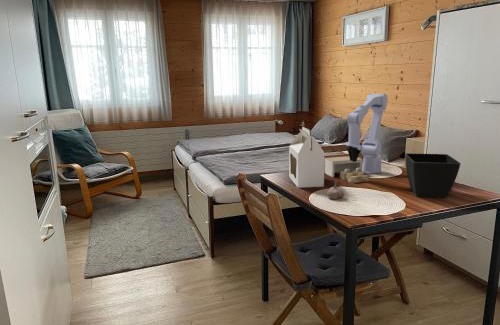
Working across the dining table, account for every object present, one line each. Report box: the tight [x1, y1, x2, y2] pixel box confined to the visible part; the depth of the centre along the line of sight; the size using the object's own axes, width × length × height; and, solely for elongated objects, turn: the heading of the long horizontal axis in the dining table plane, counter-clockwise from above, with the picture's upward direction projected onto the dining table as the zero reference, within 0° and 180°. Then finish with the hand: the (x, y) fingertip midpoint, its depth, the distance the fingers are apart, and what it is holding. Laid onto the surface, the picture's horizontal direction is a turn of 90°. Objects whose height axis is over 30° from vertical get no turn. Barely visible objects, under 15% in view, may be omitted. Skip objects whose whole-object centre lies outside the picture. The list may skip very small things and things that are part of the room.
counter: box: [324, 155, 363, 178], centre depth 212 cm, size 18×10×9 cm, turn 104°
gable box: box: [288, 126, 325, 189], centre depth 195 cm, size 22×13×28 cm, turn 5°
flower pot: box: [404, 152, 461, 199], centre depth 172 cm, size 19×19×17 cm
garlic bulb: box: [326, 180, 345, 200], centre depth 169 cm, size 8×7×8 cm
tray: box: [339, 168, 370, 184], centre depth 199 cm, size 12×11×5 cm
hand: (353, 161), depth 200 cm, fingers closed
